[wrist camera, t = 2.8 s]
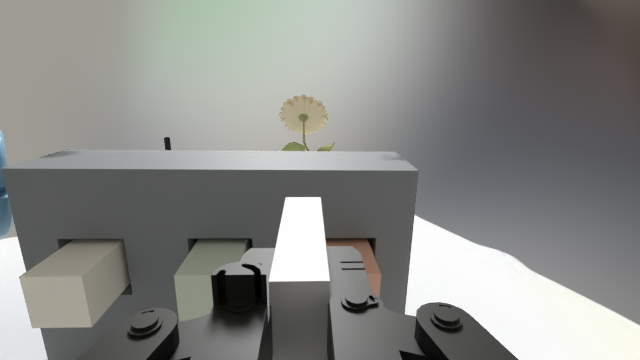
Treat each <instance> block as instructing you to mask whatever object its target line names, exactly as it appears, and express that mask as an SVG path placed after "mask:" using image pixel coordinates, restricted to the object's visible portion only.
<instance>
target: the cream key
mask: <svg viewBox="0 0 640 360" xmlns="http://www.w3.org/2000/svg"><path fill="white" fill-rule="evenodd" d="M19 278H20V282H21V286H22V290H23V294H24V298H25V302H26V306H27V309H28V313H29V317H30V321H31V325H32V328H77V327H93V325H94V324H95V323H96V322H97V321H98V320H99V318H100V317H101V316H102V315H103V314H104V313H105V312H106V310H107V309H108V308H109V307H110V306H111V305H112V304H113V302H114V301H115V300H116V299H117V298H118V297H119V295H120V294H121V293H122V292H123V291H124V290H125V289H126V287H127V286H128V285H129V284H130V283H131V281H130V275H129V269H128V262H127V256H126V249H125V243H124V239H74V240H72V241H71V242H69V243H68V244H67V245H65V246H64V247H62V248H61V249H59V250H58V251H56V252H55V253H53V254H52V255H50V256H49V257H47V258H46V259H45V260H43V261H42V262H40V263H39V264H37V265H36V266H34V267H33V268H31V269H30V270H28V271H27V272H26V273H24V274H23V275H21V276H20V277H19Z"/></svg>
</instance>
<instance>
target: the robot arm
mask: <svg viewBox="0 0 640 360" xmlns="http://www.w3.org/2000/svg"><path fill="white" fill-rule="evenodd" d="M4 167H7V162H6V152H5V145H4V136H3V134H2V132H1V131H0V240H1V239H3V238H5V237H6V236H7V235H8V234H9V233H10V231H11V229H12V226H13V224H12V223H13V221H12V211H11V207H10V203H9V199H8V195H7V191H6V187H5V183H4V179H3V175H2V171H1V168H4ZM211 284H212V295H213V307H212V309H211V312H210V313H209V314H207V315H204V316H202V317H198V318H195V319H190V320H186V321H181V322H178V320H177V315H176V314H175V313H174V312H173V311H172V310H169V309H165V308H152V309H146V310H142V311H140V312H137V313H135V314H132V315H130V316H129V317H127V318H126V319H124V320H123V321H121V322H120V323H119V324H118V325H116V326H115V327H114V328H113V329H112V330H111V331H109V332H108V333H107V334H106V335H105V336H104V337H102V338H101V339H100V340H99V341H98V342H97V343H95V344H94V345H93V346H92V347H91V348H90V349H89V350H87V351H86V352H85V353H84V354H83V355H82V356H80V357H79V358H78V359H77V360H518V359H517V358H516V357H515V356H514V355H513V354H512V353H511V352H509V351H508V350H507V349H506V348H505V347H504V346H503V345H502V344H501V343H500V342H499V341H498V340H497V339H495V338H494V337H493V336H492V335H491V334H490V333H489V332H488V331H487V330H486V329H485V328H484V327H482V326H481V325H480V324H479V323H478V322H477V321H476V320H475V319H474V318H473V317H472V316H471V315H469V314H468V313H466V312H465V311H464V310H462V309H460V308H458V307H456V306H453V305H451V304H446V303H440V302H438V303H428V304H425V305H422V306H421V307H420V308H419V309H418V310H417V314H416V317H415V316H410V315H405V314H400V313H397V312H393V311H391V310H389V309H386V308H385V307H384V305H383V302H382V301H381V299H380V298H379V296H377V295H376V294H375V293H373V292H372V289H371V285H370V282H369V279H368V276H367V272H366V270H365V266H364V263H363V260H362V256H361V253H360V252H359V251H357V250H356V249H355V248H354V247H353V246H326V241H325V232H324V223H323V214H322V205H321V197H286V198H285V203H284V208H283V213H282V218H281V223H280V228H279V233H278V238H277V243H276V248H251V249H249V250H248V251H247V252H246V253H244V254H243V255H242V257H241V260H240V262H232V263H229V264H226V265H223V266H221V267H219V268H218V269H216V270H215V271H214V272H213V273H212V274H211Z"/></svg>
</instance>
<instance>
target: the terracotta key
mask: <svg viewBox="0 0 640 360" xmlns="http://www.w3.org/2000/svg"><path fill="white" fill-rule="evenodd" d="M325 241H326V246H353V247H354V248H355V249H356V250H357V251H359V252H360V253H361V256H362V260H363V263H364V266H365V270H366V272H367V276H368V279H369V282H370V285H371V289H372V292H373V293H375V294H376V295H377V296H379V297H380V284H381V272H380V270H379V267H378V265H377V262H376V260H375V257H374V254H373V252H372V249H371V247H370V244H369V242H368V239H367V238H325Z"/></svg>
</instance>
